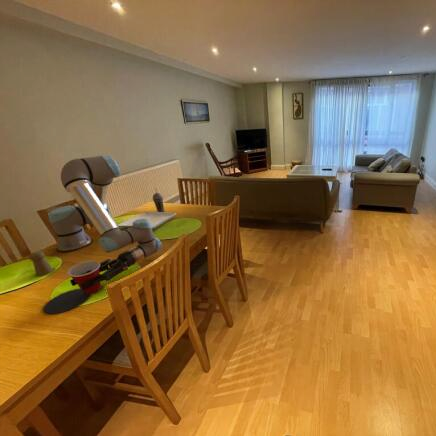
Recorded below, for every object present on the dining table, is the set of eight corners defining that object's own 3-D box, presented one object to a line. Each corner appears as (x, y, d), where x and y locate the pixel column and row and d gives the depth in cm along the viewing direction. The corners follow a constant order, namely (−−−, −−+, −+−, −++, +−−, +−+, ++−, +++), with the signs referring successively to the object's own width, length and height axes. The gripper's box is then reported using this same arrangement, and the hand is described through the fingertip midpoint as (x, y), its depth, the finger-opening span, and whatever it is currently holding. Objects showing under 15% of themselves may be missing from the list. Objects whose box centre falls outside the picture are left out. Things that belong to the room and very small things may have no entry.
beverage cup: (155, 213, 190) (148, 189, 182) (157, 210, 196) (151, 187, 189) (165, 212, 192) (159, 188, 184) (166, 209, 198) (161, 186, 190)
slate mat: (35, 307, 96) (35, 307, 96) (78, 285, 108) (78, 285, 108) (56, 318, 90) (55, 318, 90) (98, 293, 103) (98, 293, 103)
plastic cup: (91, 300, 99) (80, 276, 94) (71, 296, 101) (59, 273, 96) (114, 284, 108) (106, 261, 104) (95, 281, 111) (86, 258, 106)
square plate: (153, 232, 158) (152, 227, 157) (117, 230, 162) (115, 225, 161) (177, 217, 183) (176, 212, 181) (145, 215, 187) (144, 210, 186)
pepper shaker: (52, 267, 122) (43, 248, 118) (54, 271, 118) (45, 252, 114) (35, 272, 118) (25, 253, 113) (37, 277, 114) (27, 257, 110)
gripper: (146, 267, 115) (94, 298, 95) (120, 259, 122) (66, 287, 103) (142, 254, 112) (87, 283, 93) (115, 246, 119) (59, 272, 100)
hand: (76, 285), depth 98 cm, fingers closed on plastic cup, 6 cm apart
